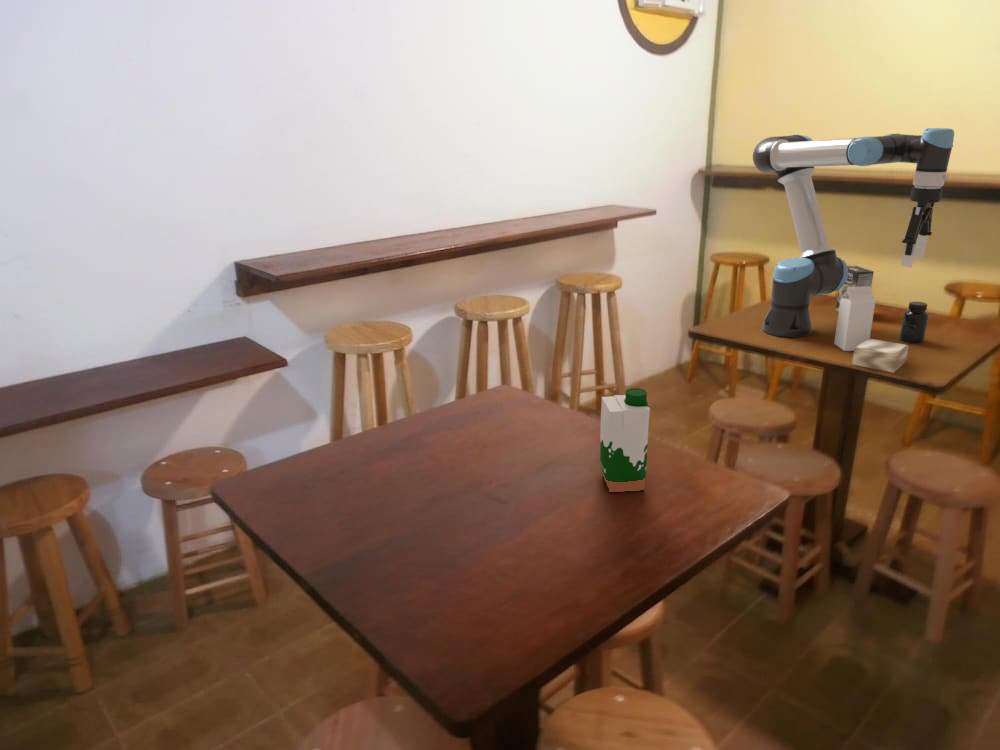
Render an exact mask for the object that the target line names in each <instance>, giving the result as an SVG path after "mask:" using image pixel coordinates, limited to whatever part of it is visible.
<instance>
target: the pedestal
mask: <svg viewBox="0 0 1000 750" xmlns="http://www.w3.org/2000/svg"><path fill="white" fill-rule="evenodd" d="M908 352H909V345H908V344H903V343H897V342H892V341H887V340H886V341H885V340H880V339H874V338H871V337H870V338H869V339H866V340H865V341H863V342H862V343H861V344H859V345H858V346H856V347H855V348H854V351H853V355H852V361H851V364H852V366H853V365H854V366H859V367H862V368H863V367H864V368H868V369H874V370H877V371H878V370H879V371H883V372H889V373H892V374H893V373H895V372H897V370H898V369H900V368H901V367H902V366H903V365H904V364H905V363H906V362H907V358H908Z"/></svg>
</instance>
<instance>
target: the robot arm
mask: <svg viewBox="0 0 1000 750" xmlns="http://www.w3.org/2000/svg"><path fill="white" fill-rule="evenodd" d="M954 137H955V130H954V129H952V128H949V127H945V128H944V127H941V128H940V127H928V128H925V129H924V130H923V132H922V134H921V135H920V134H919V135H917V134H916V135H915V134H901V133H887V134H884V135H880V136H877V135H876V136H864V137H863V136H862V137H853V138H852V137H849V138H836V139H835V138H833V139H820V140H813V138H812V137H810V136H807V135H802V134H792V135H782V136H781V135H780V136H770V137H766V138H764V139H762V140H761V141H759V142H758V144H756V146H755V147H754V150H753V152H752V161H753V165H754V166H755V168H756V169H757V170H758V171H760V172H762V173H764V174H768V175H769V174H776V179H777V182H778V183H780V184H782V185H783V186H784V190H785V194H786V198H787V201H788V206H789V210H790V215H791V218H792V221H793V226H794V230H795V234H796V237H797V242H798V246H799V250H800V256H799V257H794V258H792V257H791V258H790V257H789V258H785V259H782V260H780V261H778V262H777V263H776V264H775V266H774V270H773V273H772V274H773V275H772V287H771V299H770V306H769V309H768V311H767V313H766V315H765V317H764V320H763V321H762V331H763V332H764V333H766V334H769V335H771V336H778V337H784V338H800V337H801V338H803V337H807V336H809V335H811V334H812V331H813V324H812V319H811V315H810V311H809V310H810V309H809V308H810V307H809V306H810V299H811V297H817V296H822V295H828V294H829V295H830V294H831V293H834V292H836V291H837V292H838V290H839V289H840V288H841V287H842V286H843V285H844V283H845V282H846V280H847V277H848V268H847V267H848V265H847V263H846V261H845V260H843V259H842V258H841V257H838V256H837V253H836V249H835V248H834V247H831V246H830V245H829V242H828V238H827V234H826V230H825V229H826V228H825V226H824V222H823V218H822V214H821V211H820V210H821V209H820V206H819V202H818V198H817V194H816V189H815V187H814V182H813V178H812V176H813V175H814V172H815V169H816V167H839V166H841V167H845V166H857V167H858V166H859V167H867V166H872V165H873V166H875V165H882V164H883V165H885V164H895V163H905V164H908V163H909V164H916V167H915V171H914V174H913V175H914V177H913V180H912V185H913V187H912V188H911V193H910V197H909V200H910V201H912V202H914V203H915V202H916V203H917V204H916V206H913V208H912V212H911V213H912V214H911V217H910V220H909V223H908V226H907V229H906V233H905V236H904V238H903V239H902V241H901V242H902V244H904V247H903V252H902V258H901V262H900V266H901V267H909V268H912V267H913V263H914V258H917V259H918V258H919V259H924V257H925V253H926V247H927V243H928V237H929V236H932V233H933V232H932V220H933V211H934V205H935V203H939V202H941V200H942V196H943V190H944V189H943V188H942V187H943V186H944V184H945V180H948V178H949V176H948V175H947V171H948V167H949V162H950V158H951V153H952V150H953V147H954Z"/></svg>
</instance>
